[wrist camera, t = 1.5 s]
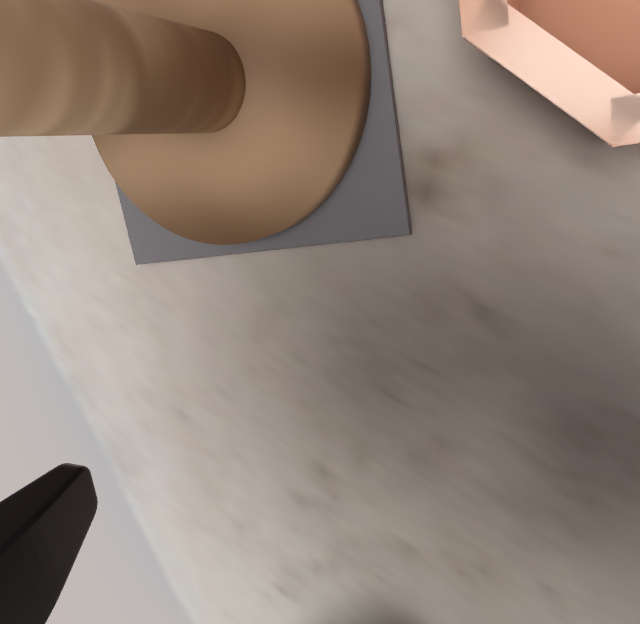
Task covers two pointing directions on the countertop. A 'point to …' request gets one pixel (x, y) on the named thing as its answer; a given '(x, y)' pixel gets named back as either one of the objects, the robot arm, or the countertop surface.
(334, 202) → the mat
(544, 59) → the bowl
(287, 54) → the tan post on disk
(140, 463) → the countertop surface
